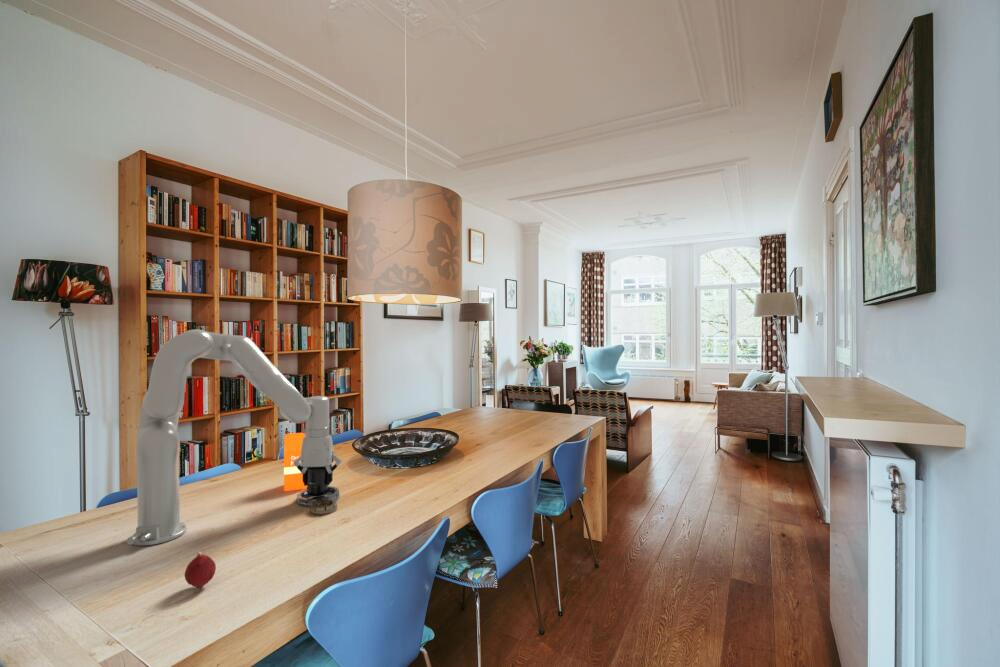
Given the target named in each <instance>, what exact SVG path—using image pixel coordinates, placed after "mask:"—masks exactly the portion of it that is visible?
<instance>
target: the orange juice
mask: <svg viewBox="0 0 1000 667" xmlns="http://www.w3.org/2000/svg"><path fill="white" fill-rule="evenodd" d="M303 437H305V434H304V433H302V432H293V433H285V434H284V445H283V446H284V448H283V482H284V483H283V484H284V485H283V489H284V490H283V491H284V492H288V491H290V492H291V491H296V490H306V489H307V485H306V486H304V483H303V474H302V473H301V472H300V471H299V470H298V469H297V467H296V466H295V465H294V464H293V462H294V461H295V460H296V459H298V458H299V457H300V456H301V447H302V441H303Z"/></svg>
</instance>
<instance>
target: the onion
mask: <svg viewBox="0 0 1000 667" xmlns="http://www.w3.org/2000/svg"><path fill="white" fill-rule="evenodd" d="M216 567H217V566H216V562H215V561H214V560H213V558H211V557H210V556H209V555H206V554H203V553H202V552H201V551H198V552H197V554H196V556H195V558H193V559H192V560H191V561H190V562H189V563H188V564H187V566H186V569H185V570H184V571H185V572H184V579H185V581H186V582H187V584H188V585H191V586H192V587H194V588H197V589H201V588H203V587H204V586H205V585H207V584H208V583H209V582H210V581H211V580H212V579H213V578H214V577H215V576H214V575H215V573H216Z"/></svg>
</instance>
